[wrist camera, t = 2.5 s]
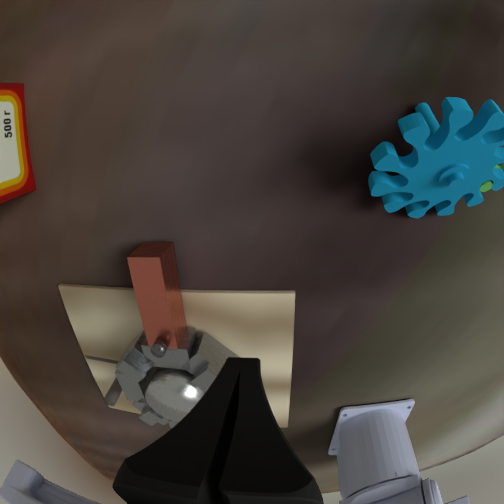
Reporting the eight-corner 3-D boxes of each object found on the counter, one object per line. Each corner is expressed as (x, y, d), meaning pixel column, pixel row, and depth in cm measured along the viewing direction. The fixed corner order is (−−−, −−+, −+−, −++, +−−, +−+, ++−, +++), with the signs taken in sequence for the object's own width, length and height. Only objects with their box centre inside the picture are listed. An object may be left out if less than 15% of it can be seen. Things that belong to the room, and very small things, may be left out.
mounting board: (287, 424, 27) (287, 451, 24) (110, 404, 29) (99, 425, 26) (294, 290, 21) (297, 318, 18) (60, 283, 23) (38, 302, 20)
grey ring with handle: (248, 414, 26) (244, 444, 22) (145, 403, 26) (134, 429, 23) (235, 240, 19) (226, 264, 16) (95, 243, 20) (68, 263, 17)
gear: (346, 222, 17) (429, 91, 8) (330, 147, 19) (378, 22, 10) (474, 230, 18) (561, 153, 9) (451, 166, 20) (515, 83, 11)
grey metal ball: (216, 391, 25) (208, 425, 21) (166, 386, 25) (153, 417, 22) (209, 352, 23) (198, 388, 20) (154, 348, 24) (138, 380, 20)
